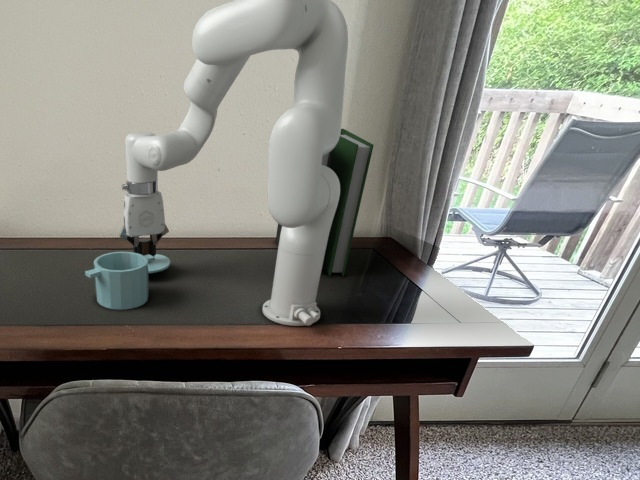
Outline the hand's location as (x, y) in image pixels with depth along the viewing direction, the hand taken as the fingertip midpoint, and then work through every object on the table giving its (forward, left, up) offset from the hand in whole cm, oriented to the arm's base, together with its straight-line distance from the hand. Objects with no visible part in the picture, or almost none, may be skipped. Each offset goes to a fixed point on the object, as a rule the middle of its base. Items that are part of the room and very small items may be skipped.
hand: (144, 258), depth 127 cm
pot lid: (0, 0, -2) cm, 2 cm away
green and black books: (-3, -48, -4) cm, 48 cm away
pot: (-14, +9, -4) cm, 17 cm away
